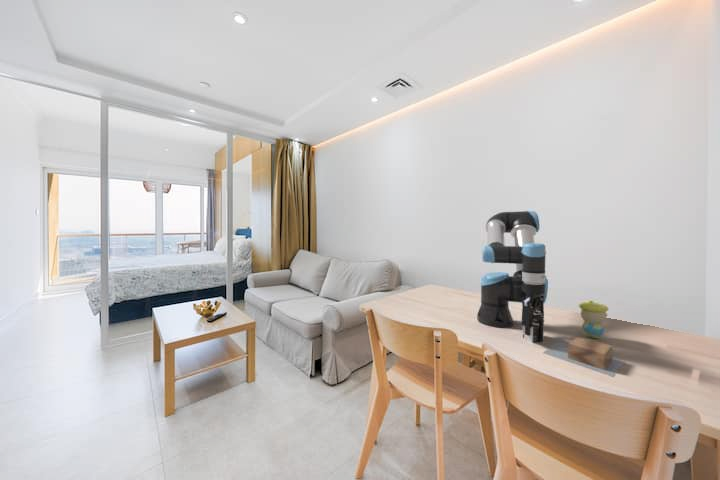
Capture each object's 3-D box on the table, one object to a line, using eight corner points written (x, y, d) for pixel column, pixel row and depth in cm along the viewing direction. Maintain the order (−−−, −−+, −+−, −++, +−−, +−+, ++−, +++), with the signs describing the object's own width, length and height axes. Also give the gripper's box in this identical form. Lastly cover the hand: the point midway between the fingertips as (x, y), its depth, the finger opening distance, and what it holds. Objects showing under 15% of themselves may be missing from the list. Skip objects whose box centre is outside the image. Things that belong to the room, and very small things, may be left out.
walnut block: (568, 358, 86) (568, 343, 86) (577, 350, 91) (577, 336, 91) (604, 370, 79) (604, 354, 78) (612, 360, 84) (612, 345, 83)
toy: (613, 342, 98) (614, 304, 98) (586, 341, 100) (587, 303, 99) (599, 334, 106) (599, 298, 105) (574, 332, 108) (574, 297, 107)
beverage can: (531, 336, 106) (531, 307, 105) (547, 343, 99) (548, 313, 99) (518, 339, 104) (518, 310, 103) (534, 346, 97) (535, 315, 97)
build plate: (542, 356, 90) (542, 352, 90) (558, 344, 98) (558, 341, 98) (613, 380, 75) (613, 376, 75) (624, 365, 83) (624, 361, 83)
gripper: (533, 288, 92) (532, 351, 93) (554, 280, 103) (553, 336, 104) (511, 284, 98) (510, 343, 99) (533, 277, 109) (533, 330, 110)
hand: (532, 339), depth 101 cm, fingers closed on beverage can, 7 cm apart
